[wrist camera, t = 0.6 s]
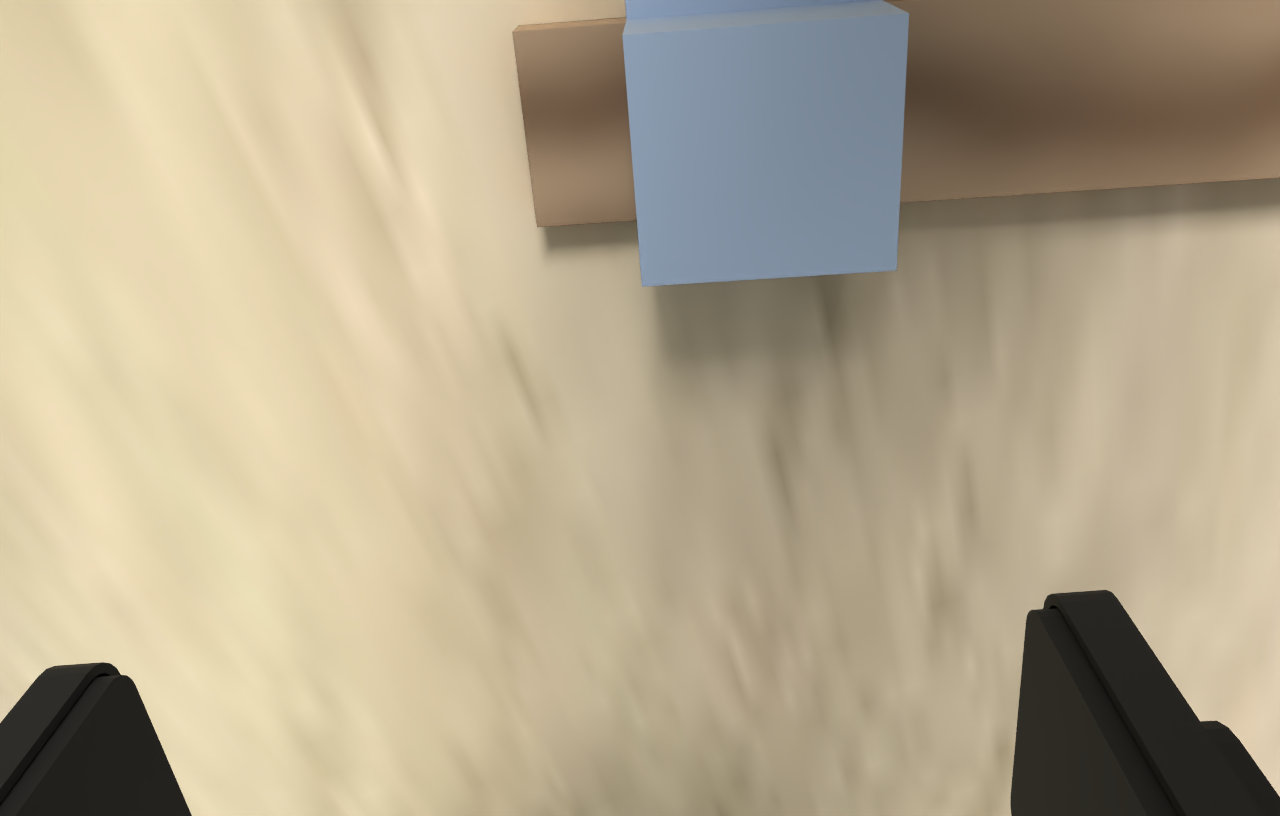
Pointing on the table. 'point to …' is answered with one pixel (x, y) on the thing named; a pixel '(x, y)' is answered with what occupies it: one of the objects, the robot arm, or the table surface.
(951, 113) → the rail
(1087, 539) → the table surface
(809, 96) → the block
